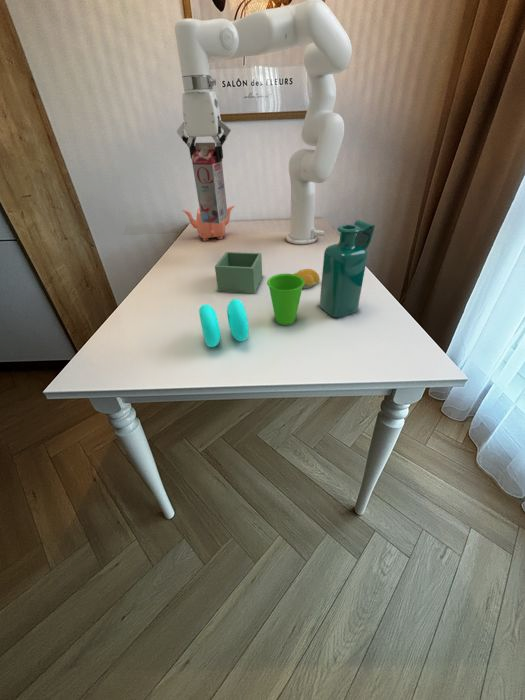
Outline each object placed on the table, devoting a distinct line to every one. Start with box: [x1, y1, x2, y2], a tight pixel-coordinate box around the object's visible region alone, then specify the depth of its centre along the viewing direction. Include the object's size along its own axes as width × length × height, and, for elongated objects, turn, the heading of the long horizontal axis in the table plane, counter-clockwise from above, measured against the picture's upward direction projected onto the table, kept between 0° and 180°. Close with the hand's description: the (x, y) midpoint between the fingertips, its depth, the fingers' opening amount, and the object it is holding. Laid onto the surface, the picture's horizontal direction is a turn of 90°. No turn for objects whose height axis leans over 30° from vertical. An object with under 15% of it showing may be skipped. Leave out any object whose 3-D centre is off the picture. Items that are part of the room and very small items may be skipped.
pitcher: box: [319, 219, 376, 319], centre depth 78 cm, size 10×8×22 cm
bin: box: [214, 251, 263, 294], centre depth 96 cm, size 12×12×8 cm
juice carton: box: [191, 142, 228, 224], centre depth 99 cm, size 7×7×22 cm
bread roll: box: [293, 268, 321, 289], centre depth 97 cm, size 8×9×4 cm
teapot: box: [181, 205, 236, 242], centre depth 132 cm, size 15×17×13 cm
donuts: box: [198, 298, 250, 348], centre depth 72 cm, size 10×10×10 cm
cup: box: [266, 273, 305, 326], centre depth 78 cm, size 9×9×11 cm
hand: (207, 161), depth 95 cm, fingers closed on juice carton, 7 cm apart
